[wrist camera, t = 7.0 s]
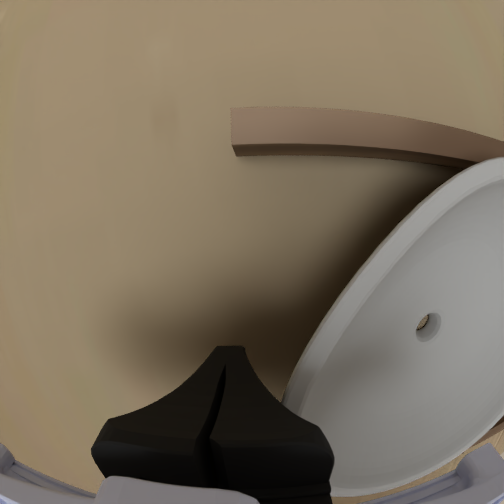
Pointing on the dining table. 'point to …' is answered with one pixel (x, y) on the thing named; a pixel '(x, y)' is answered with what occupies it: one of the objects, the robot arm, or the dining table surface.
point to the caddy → (358, 142)
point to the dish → (413, 342)
